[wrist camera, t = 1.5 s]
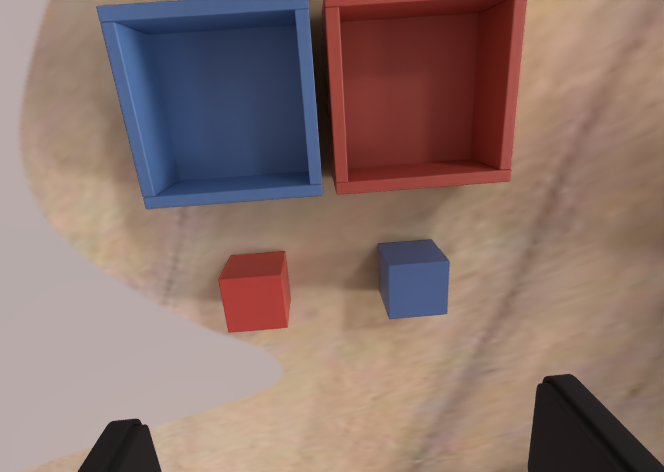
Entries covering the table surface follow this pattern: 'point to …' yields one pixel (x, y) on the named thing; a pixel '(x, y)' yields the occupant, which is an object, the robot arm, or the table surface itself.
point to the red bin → (421, 91)
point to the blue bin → (216, 99)
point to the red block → (256, 292)
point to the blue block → (413, 279)
